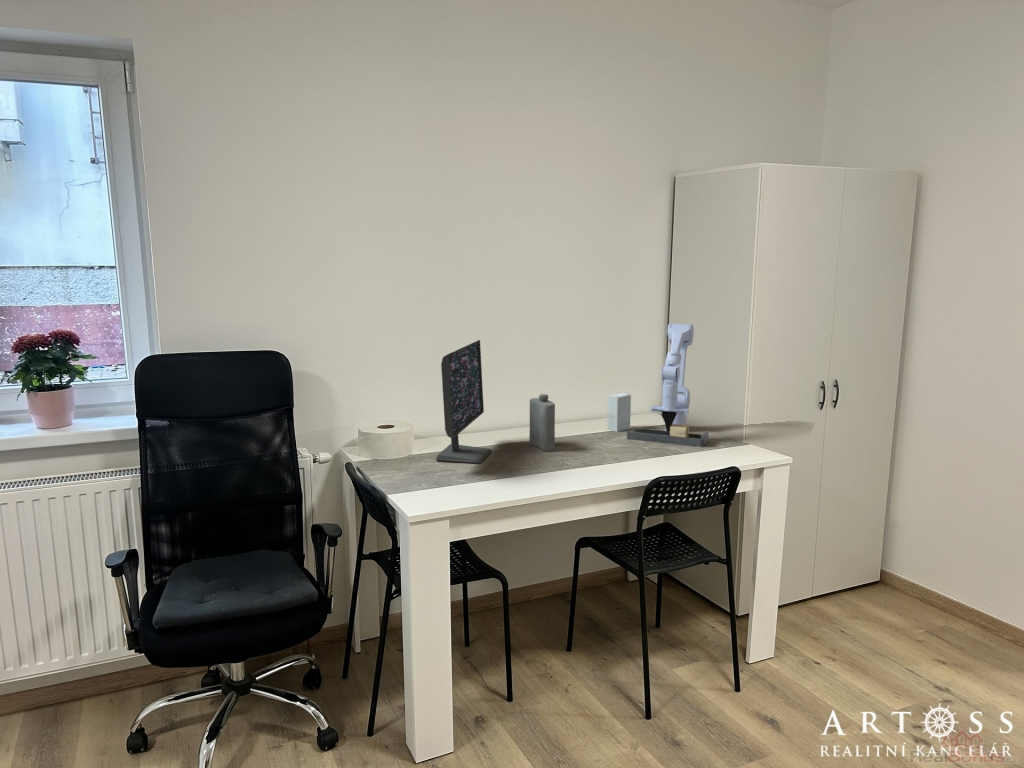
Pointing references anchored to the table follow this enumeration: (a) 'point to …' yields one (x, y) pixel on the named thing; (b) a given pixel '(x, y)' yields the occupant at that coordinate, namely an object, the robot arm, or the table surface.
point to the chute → (668, 437)
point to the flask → (542, 423)
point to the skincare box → (619, 412)
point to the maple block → (679, 430)
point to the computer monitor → (462, 401)
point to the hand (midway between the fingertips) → (668, 430)
